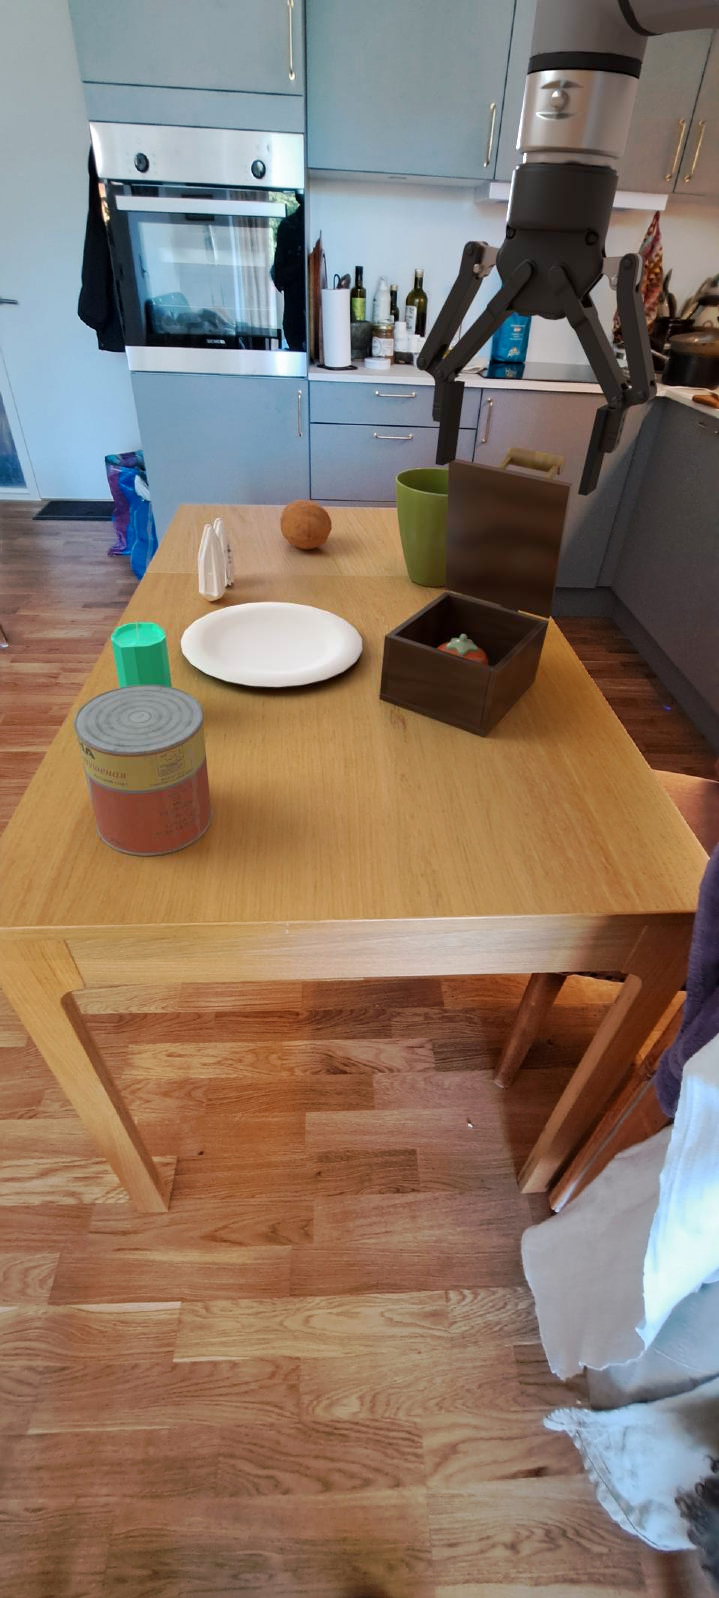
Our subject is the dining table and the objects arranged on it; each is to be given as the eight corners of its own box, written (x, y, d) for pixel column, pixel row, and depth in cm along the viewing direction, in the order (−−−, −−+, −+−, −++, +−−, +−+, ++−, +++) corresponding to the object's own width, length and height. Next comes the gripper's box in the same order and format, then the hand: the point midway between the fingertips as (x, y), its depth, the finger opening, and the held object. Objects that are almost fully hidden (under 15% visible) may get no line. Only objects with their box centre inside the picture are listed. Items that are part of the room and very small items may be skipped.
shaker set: (222, 608, 112) (218, 535, 105) (195, 606, 112) (189, 533, 105) (237, 577, 121) (234, 509, 114) (212, 575, 121) (207, 507, 114)
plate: (391, 679, 98) (392, 668, 97) (205, 710, 90) (204, 698, 88) (325, 603, 115) (325, 592, 114) (165, 622, 107) (163, 611, 106)
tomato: (414, 690, 94) (421, 633, 89) (447, 670, 99) (455, 615, 94) (463, 712, 91) (473, 654, 86) (494, 690, 95) (505, 634, 90)
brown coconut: (329, 536, 139) (330, 494, 134) (333, 558, 130) (334, 515, 126) (280, 534, 138) (280, 493, 133) (280, 557, 129) (280, 513, 125)
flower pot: (408, 555, 133) (417, 461, 123) (486, 573, 129) (502, 477, 119) (373, 583, 123) (379, 483, 113) (456, 603, 118) (471, 501, 108)
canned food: (108, 782, 78) (88, 683, 70) (216, 783, 79) (208, 685, 71) (85, 856, 69) (59, 752, 61) (207, 855, 70) (196, 753, 62)
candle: (145, 696, 91) (131, 605, 84) (185, 709, 89) (175, 617, 82) (113, 718, 87) (95, 625, 79) (154, 733, 85) (140, 638, 78)
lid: (570, 486, 80) (601, 447, 85) (448, 460, 86) (484, 425, 91) (548, 619, 94) (576, 578, 99) (445, 589, 99) (476, 552, 104)
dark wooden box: (485, 737, 88) (497, 672, 83) (379, 699, 94) (384, 635, 88) (534, 681, 100) (549, 620, 94) (437, 649, 105) (445, 590, 100)
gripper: (390, 153, 55) (372, 458, 68) (741, 163, 45) (641, 516, 58) (435, 162, 60) (411, 444, 73) (760, 172, 50) (664, 494, 63)
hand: (513, 476), depth 66 cm, fingers open, 13 cm apart
